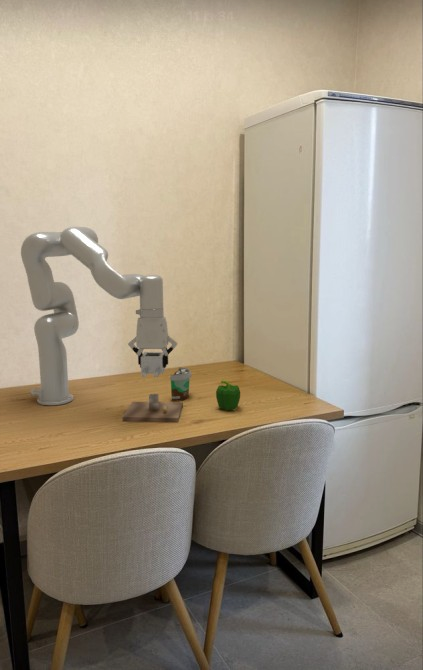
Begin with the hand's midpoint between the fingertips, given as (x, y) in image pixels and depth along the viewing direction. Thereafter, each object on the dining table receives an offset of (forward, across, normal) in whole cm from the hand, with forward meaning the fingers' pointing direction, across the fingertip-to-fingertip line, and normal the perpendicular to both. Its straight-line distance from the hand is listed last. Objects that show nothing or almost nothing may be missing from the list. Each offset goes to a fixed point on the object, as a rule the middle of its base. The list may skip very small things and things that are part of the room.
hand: (153, 366), depth 175 cm
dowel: (+15, +4, -3) cm, 16 cm away
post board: (+16, 0, 0) cm, 16 cm away
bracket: (+2, 0, -2) cm, 2 cm away
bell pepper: (+17, +25, +7) cm, 31 cm away
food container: (+17, +8, +19) cm, 26 cm away
